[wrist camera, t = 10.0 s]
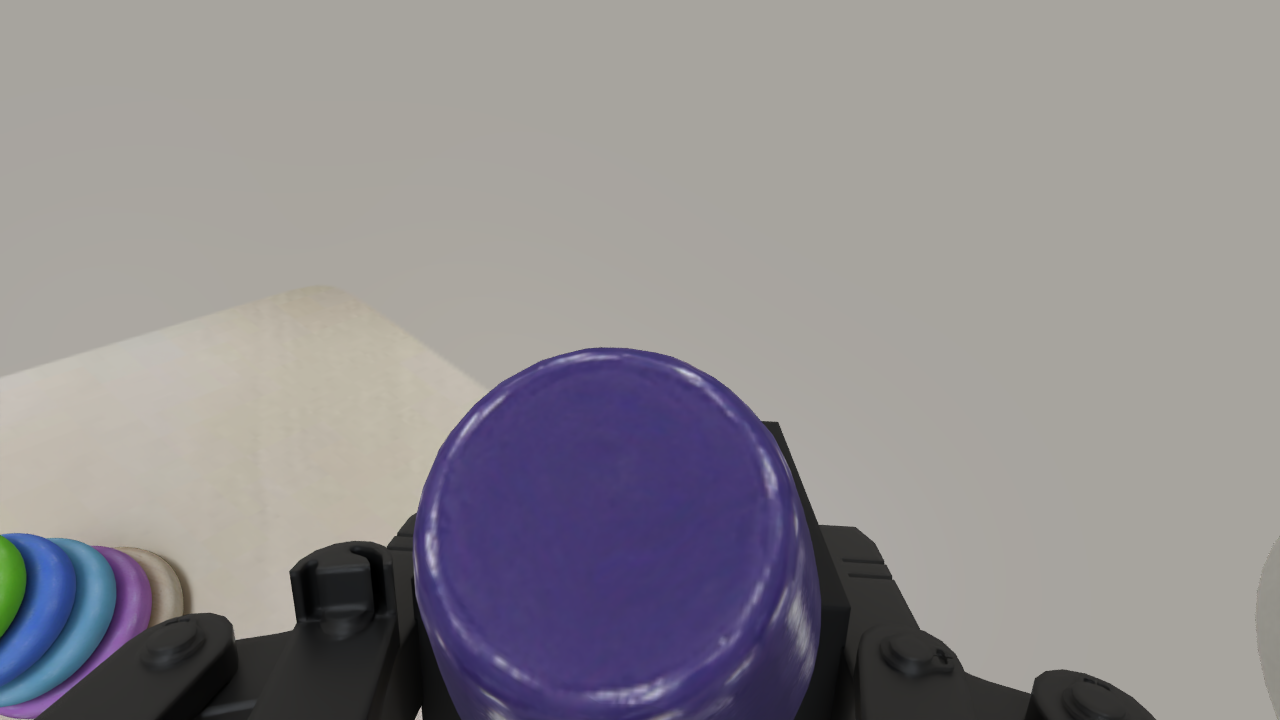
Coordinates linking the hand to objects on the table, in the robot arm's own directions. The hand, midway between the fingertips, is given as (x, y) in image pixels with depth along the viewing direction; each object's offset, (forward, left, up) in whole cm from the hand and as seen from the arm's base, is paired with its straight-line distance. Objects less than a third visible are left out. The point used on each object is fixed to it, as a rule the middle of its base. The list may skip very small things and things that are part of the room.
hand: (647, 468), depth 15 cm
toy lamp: (+1, +4, -7) cm, 8 cm away
